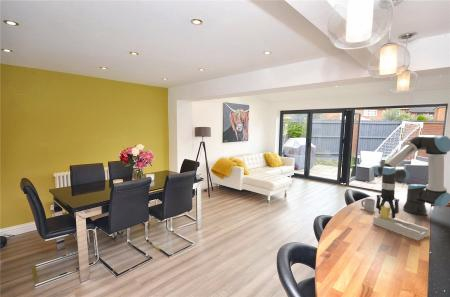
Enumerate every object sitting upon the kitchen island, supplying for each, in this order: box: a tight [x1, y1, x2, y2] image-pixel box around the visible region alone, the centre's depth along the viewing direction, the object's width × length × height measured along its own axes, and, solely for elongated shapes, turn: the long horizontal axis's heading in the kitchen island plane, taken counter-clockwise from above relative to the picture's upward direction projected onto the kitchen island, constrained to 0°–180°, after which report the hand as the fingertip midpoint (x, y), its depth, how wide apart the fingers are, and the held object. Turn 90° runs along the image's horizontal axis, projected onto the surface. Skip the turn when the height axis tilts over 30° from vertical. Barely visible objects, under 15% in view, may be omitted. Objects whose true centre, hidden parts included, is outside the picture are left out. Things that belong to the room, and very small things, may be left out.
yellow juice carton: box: [379, 204, 391, 220], centre depth 161 cm, size 7×4×12 cm, turn 117°
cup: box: [360, 198, 376, 213], centre depth 190 cm, size 7×10×9 cm
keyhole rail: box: [372, 215, 430, 241], centre depth 153 cm, size 14×27×5 cm, turn 27°
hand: (386, 220), depth 160 cm, fingers open, 6 cm apart
